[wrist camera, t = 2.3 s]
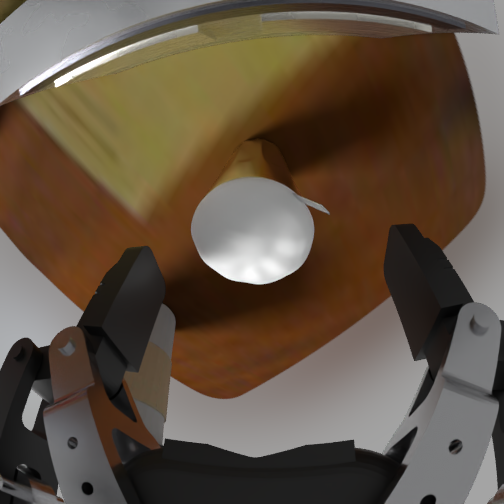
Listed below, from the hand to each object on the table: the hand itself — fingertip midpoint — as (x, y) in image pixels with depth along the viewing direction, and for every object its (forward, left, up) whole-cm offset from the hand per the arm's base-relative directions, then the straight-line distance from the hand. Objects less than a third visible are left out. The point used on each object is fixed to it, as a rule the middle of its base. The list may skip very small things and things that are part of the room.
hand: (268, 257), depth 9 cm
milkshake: (0, 0, -10) cm, 10 cm away
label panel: (0, +9, -10) cm, 13 cm away
